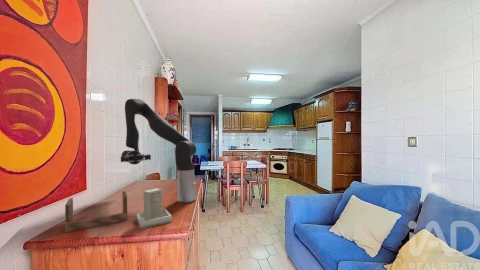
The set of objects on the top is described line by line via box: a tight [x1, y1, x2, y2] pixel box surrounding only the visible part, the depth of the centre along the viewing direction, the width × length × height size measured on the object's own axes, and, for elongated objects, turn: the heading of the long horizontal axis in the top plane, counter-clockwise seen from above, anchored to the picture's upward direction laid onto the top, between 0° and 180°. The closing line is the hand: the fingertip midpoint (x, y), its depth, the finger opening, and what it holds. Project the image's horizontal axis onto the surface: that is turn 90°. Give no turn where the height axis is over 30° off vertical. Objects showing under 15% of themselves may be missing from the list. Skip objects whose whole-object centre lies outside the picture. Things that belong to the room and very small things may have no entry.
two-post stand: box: [64, 191, 129, 233], centre depth 93 cm, size 21×12×10 cm, turn 122°
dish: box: [136, 208, 173, 230], centre depth 92 cm, size 12×12×2 cm
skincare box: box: [143, 187, 163, 220], centre depth 93 cm, size 6×4×12 cm
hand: (137, 158), depth 109 cm, fingers open, 8 cm apart
